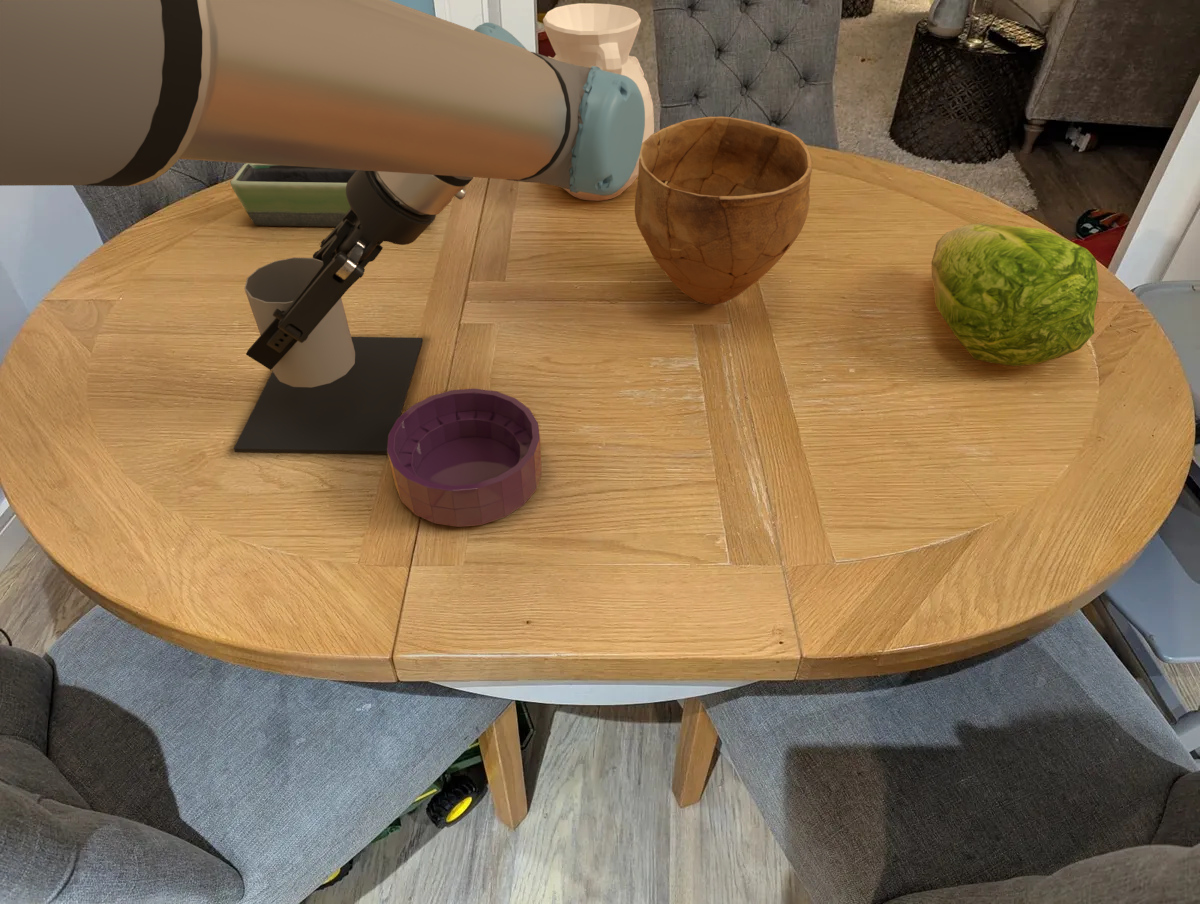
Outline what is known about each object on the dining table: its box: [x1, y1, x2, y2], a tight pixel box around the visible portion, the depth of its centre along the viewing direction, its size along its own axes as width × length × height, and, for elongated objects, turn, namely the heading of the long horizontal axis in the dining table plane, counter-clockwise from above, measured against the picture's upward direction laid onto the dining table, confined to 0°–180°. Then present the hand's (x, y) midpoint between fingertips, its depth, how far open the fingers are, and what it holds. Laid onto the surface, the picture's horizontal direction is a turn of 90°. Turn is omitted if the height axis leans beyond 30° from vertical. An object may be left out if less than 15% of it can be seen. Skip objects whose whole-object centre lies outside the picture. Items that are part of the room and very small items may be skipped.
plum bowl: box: [387, 388, 543, 528], centre depth 79 cm, size 14×14×6 cm
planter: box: [229, 163, 357, 228], centre depth 118 cm, size 28×7×7 cm, turn 89°
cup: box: [244, 256, 355, 387], centre depth 81 cm, size 8×8×10 cm
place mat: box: [233, 336, 424, 455], centre depth 90 cm, size 20×16×1 cm
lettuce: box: [931, 222, 1099, 367], centre depth 97 cm, size 17×24×14 cm
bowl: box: [634, 115, 813, 305], centre depth 98 cm, size 21×20×20 cm
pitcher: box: [542, 2, 655, 202], centre depth 120 cm, size 19×18×25 cm
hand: (273, 333), depth 82 cm, fingers closed on cup, 8 cm apart
